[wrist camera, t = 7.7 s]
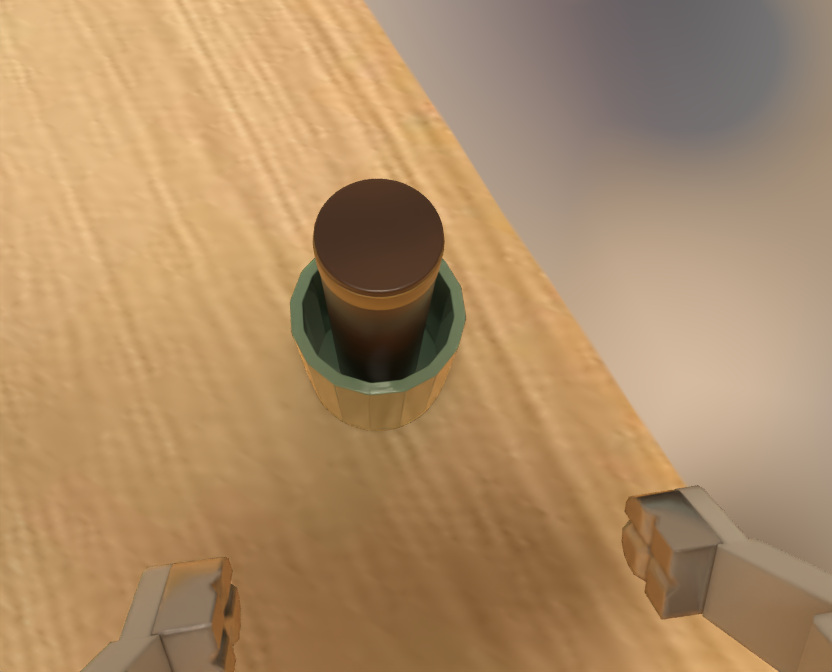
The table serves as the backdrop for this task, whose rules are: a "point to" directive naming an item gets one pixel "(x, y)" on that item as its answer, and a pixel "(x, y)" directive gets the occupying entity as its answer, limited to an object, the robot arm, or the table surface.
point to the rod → (378, 275)
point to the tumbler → (378, 400)
